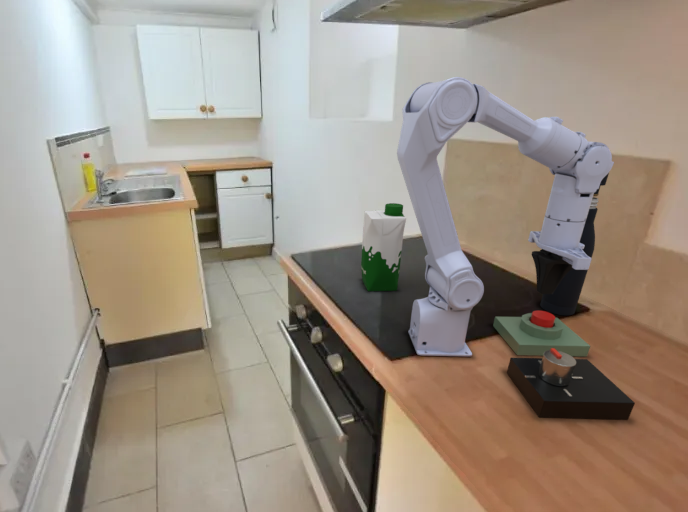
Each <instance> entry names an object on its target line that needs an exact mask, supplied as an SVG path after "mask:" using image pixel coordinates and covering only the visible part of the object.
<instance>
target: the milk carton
mask: <svg viewBox="0 0 688 512" xmlns="http://www.w3.org/2000/svg"><path fill="white" fill-rule="evenodd" d="M403 212H404V204H401V203H395V202H393V203H385V204H384V209H383V210H381V209H375V210H365V211H364V215H363V226H362V243H361V258H360V259H361V261H360V268H361V269H360V270H361V280H362V283H363V285H364V286H365V289H366V290H367V292H388V291H389V292H391V291H392V292H393V291H395V292H396V291H398V286H399V277H400V271H401V263H402V261H401V260H402V251H403V242H404V232H405V227H406V222H407V218H406V216H405V215H404V213H403Z"/></svg>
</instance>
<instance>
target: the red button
mask: <svg viewBox="0 0 688 512" xmlns="http://www.w3.org/2000/svg"><path fill="white" fill-rule="evenodd" d="M531 313H532V316H531V320H530V322H531V323H533V324H535V325H537V326H541V327H545V328H552V327H553V324H554V321H555V318H556V316H555V314H553V313H550V312H548V311H546V310H533V311H532V312H531Z"/></svg>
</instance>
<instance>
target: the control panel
mask: <svg viewBox="0 0 688 512" xmlns="http://www.w3.org/2000/svg"><path fill="white" fill-rule="evenodd" d="M542 358H543V357H510V358H509V362H508V367H507V372H506V373H507V375H508V376H509V378H510V380H511V381H512V382H513V383H514V384H515V386H516V388H517V389H518V390H519V391H520V393H521V395H522V396H523V397H524V399H525V400H526V401H527V402H528V405H530V407H531V408H532V410H533V411H534V412H535V414H536V415H537V416H538V418H546V419H575V420H576V419H579V420H580V419H581V420H611V421H613V420H617V421H618V420H619V421H628V420H629V418H630V416H631V414H632V412H633V409H634V407H635V404H636V402H635V401H634V400H632V399H631V398H630V397H629V396H628V395H627V394H626V393H625V392H624V391H623V390H621V388H619V387H618V386H617V384H615V383H614V382H613V381H612V380H611V379H609V377H607V376H606V375H605V374H604V373H603V372H602V371H601V370H600V369H598V368H597V367H596V366H595V365H594V364H593V363H592V362H591V361H590V360H589V359H587V358H574V359H575V360H576V366H575V369H574V372H573V375H572V378H571V381H570V384H569V385H567V386H556V385H552V384H550V383H547V382H546V381H544V380H543V379H541V378H540V376H539V374H538V372H539V368H540V365H541V361H542Z"/></svg>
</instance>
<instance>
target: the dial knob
mask: <svg viewBox="0 0 688 512" xmlns="http://www.w3.org/2000/svg"><path fill="white" fill-rule="evenodd" d="M541 358H542V361H541V365H540V368H539V372H538V374H539V376H540V378H541V379H543V380H544V381H546V382H547V383H550V384H552V385H556V386H567V385H569V384H570V381H571V378H572V375H573V372H574V369H575V366H576V360H575V359H576V358H574V356H570V355H568V354H566V353H564V352H561V351H557V350H556V349H555V348H551V350H547V351H545V352H544V354H543V356H542V357H541Z"/></svg>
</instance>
